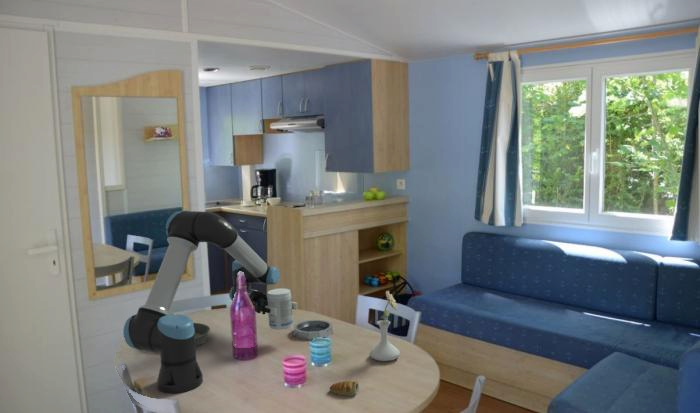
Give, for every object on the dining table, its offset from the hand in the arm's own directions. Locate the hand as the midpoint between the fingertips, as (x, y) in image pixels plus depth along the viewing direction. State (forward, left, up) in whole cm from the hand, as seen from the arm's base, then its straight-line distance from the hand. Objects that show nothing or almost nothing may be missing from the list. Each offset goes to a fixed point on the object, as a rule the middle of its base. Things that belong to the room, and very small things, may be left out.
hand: (286, 309), depth 227 cm
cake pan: (+35, +33, -16) cm, 51 cm away
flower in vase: (-33, -24, -16) cm, 44 cm away
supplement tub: (+4, +1, -8) cm, 9 cm away
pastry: (-48, +4, -16) cm, 51 cm away
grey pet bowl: (+8, -16, -16) cm, 24 cm away
